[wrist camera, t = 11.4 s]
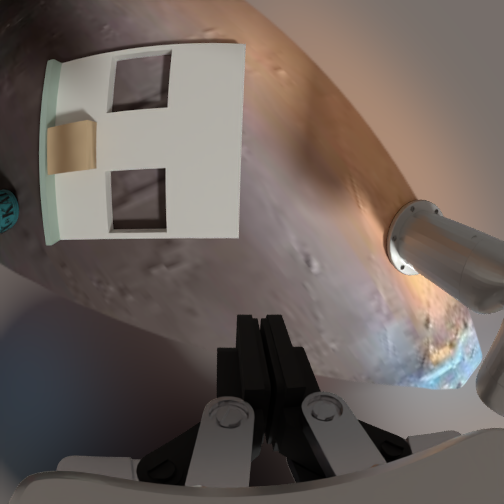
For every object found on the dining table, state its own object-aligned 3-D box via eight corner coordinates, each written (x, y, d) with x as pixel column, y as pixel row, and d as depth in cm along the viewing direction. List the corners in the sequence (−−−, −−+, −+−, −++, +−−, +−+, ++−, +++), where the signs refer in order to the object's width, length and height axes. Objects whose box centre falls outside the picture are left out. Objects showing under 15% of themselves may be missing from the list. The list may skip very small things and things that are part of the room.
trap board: (244, 49, 30) (247, 36, 26) (237, 233, 38) (240, 244, 34) (62, 68, 27) (47, 60, 23) (61, 235, 35) (46, 245, 31)
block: (96, 122, 29) (87, 119, 26) (96, 168, 31) (86, 169, 28) (58, 129, 28) (47, 128, 26) (58, 173, 30) (47, 175, 28)
